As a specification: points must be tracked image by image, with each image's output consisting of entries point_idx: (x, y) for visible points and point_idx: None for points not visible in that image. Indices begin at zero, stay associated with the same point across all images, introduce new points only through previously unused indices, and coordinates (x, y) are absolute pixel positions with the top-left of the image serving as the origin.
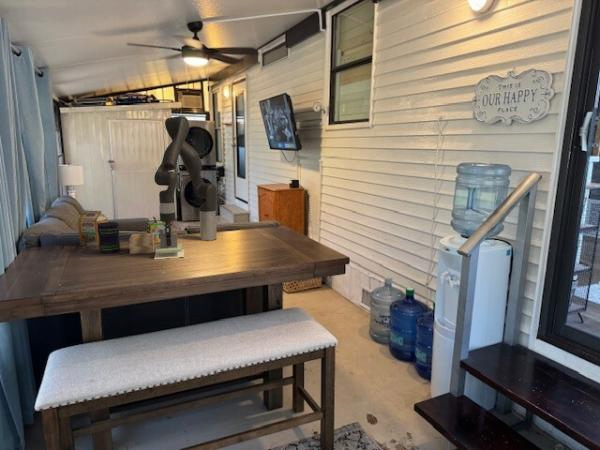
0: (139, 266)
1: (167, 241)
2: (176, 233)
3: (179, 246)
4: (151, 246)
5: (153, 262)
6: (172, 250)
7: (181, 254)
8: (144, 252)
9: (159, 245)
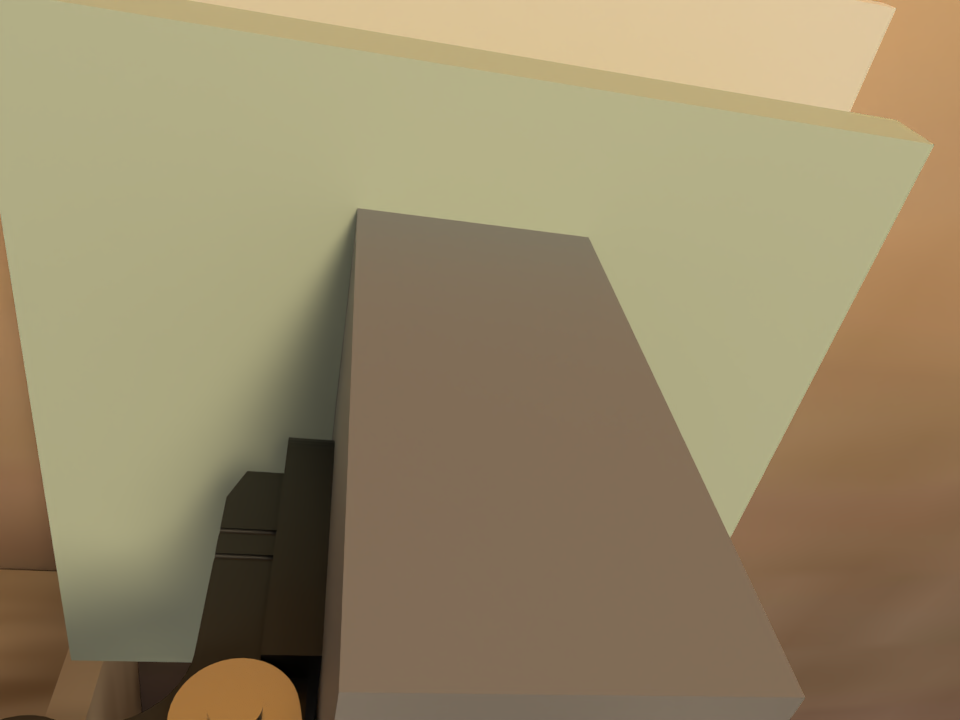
0: (889, 682)
1: None
2: (608, 707)
3: (452, 144)
4: (91, 717)
5: (815, 560)
6: (802, 378)
7: (591, 34)
8: (134, 687)
9: (134, 626)
